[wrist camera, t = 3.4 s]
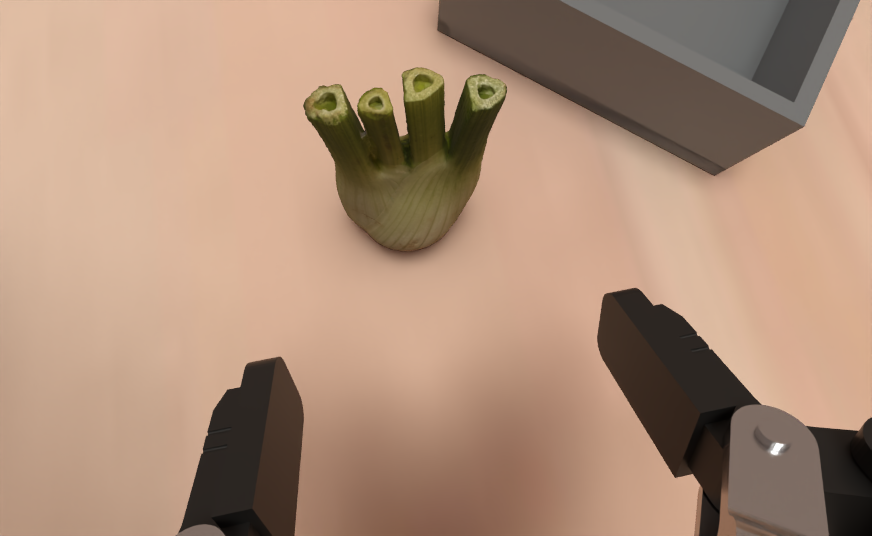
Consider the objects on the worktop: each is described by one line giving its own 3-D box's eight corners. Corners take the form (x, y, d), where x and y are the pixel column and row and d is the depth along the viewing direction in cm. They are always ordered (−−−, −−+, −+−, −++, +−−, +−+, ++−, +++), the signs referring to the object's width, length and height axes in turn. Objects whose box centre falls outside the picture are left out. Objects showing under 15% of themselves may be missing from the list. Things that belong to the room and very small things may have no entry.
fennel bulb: (474, 190, 25) (525, 56, 13) (442, 274, 24) (466, 213, 12) (374, 153, 25) (334, -13, 13) (340, 235, 24) (264, 138, 12)
